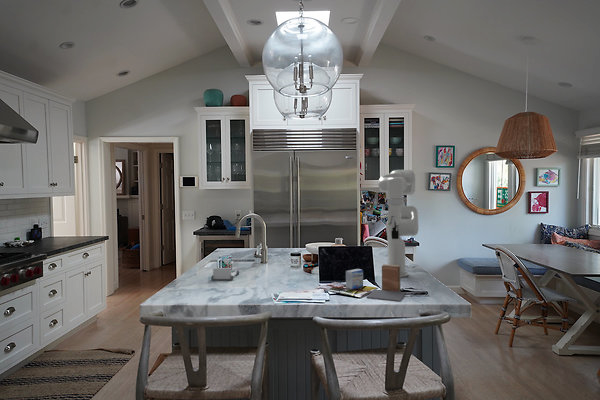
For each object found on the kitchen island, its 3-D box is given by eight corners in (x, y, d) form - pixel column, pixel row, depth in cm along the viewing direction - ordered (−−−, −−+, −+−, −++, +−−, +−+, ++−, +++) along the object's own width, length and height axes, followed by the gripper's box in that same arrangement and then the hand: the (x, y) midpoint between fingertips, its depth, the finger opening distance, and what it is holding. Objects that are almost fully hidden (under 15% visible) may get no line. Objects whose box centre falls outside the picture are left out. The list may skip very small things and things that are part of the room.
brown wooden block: (383, 288, 195) (383, 264, 195) (400, 290, 192) (400, 265, 191) (381, 290, 191) (381, 266, 191) (398, 292, 188) (398, 267, 187)
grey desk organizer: (220, 257, 234) (240, 257, 233) (221, 273, 235) (240, 274, 233) (210, 263, 216) (231, 263, 215) (211, 281, 217) (232, 281, 216)
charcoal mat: (374, 290, 192) (374, 289, 192) (406, 293, 186) (406, 292, 186) (366, 298, 180) (366, 296, 180) (400, 301, 173) (400, 300, 173)
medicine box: (351, 289, 194) (351, 272, 194) (345, 287, 198) (345, 270, 198) (363, 286, 199) (363, 269, 199) (357, 285, 203) (357, 268, 202)
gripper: (390, 201, 207) (390, 236, 208) (384, 202, 194) (384, 240, 194) (405, 201, 204) (405, 237, 205) (399, 202, 191) (399, 241, 191)
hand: (395, 238), depth 200 cm, fingers closed
